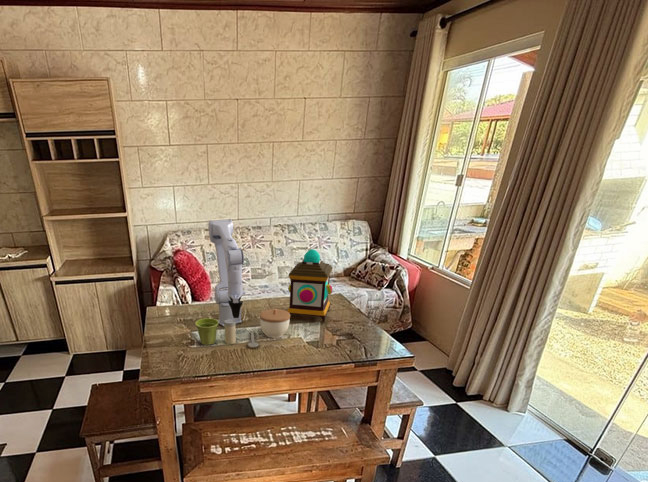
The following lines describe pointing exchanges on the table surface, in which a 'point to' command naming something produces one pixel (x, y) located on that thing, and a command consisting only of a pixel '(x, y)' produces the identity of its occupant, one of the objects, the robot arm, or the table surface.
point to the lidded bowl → (274, 322)
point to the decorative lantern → (310, 287)
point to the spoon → (253, 342)
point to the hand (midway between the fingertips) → (235, 314)
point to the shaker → (230, 331)
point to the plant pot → (207, 330)
